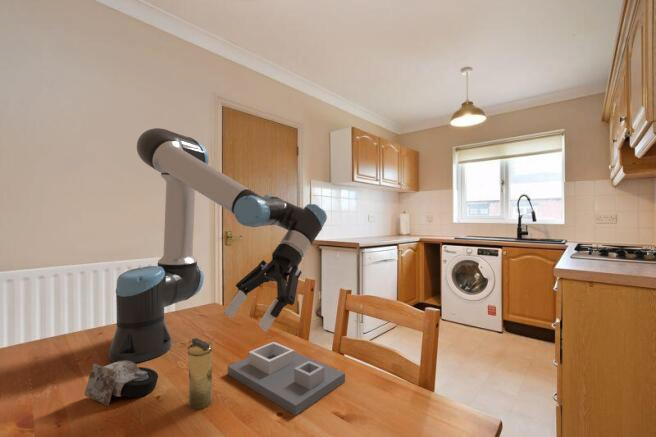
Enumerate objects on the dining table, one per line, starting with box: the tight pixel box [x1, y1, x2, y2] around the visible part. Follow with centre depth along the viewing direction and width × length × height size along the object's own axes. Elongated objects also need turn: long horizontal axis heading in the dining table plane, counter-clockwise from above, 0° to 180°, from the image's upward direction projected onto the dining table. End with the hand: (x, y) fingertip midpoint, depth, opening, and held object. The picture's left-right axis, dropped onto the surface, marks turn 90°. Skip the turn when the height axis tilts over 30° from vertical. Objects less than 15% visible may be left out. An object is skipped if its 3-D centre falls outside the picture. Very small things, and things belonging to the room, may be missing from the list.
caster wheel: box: [84, 360, 159, 407], centre depth 67 cm, size 7×11×10 cm
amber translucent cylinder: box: [187, 337, 214, 411], centre depth 63 cm, size 5×5×13 cm
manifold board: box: [227, 341, 346, 416], centre depth 73 cm, size 24×16×5 cm, turn 50°
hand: (243, 321), depth 71 cm, fingers open, 13 cm apart
